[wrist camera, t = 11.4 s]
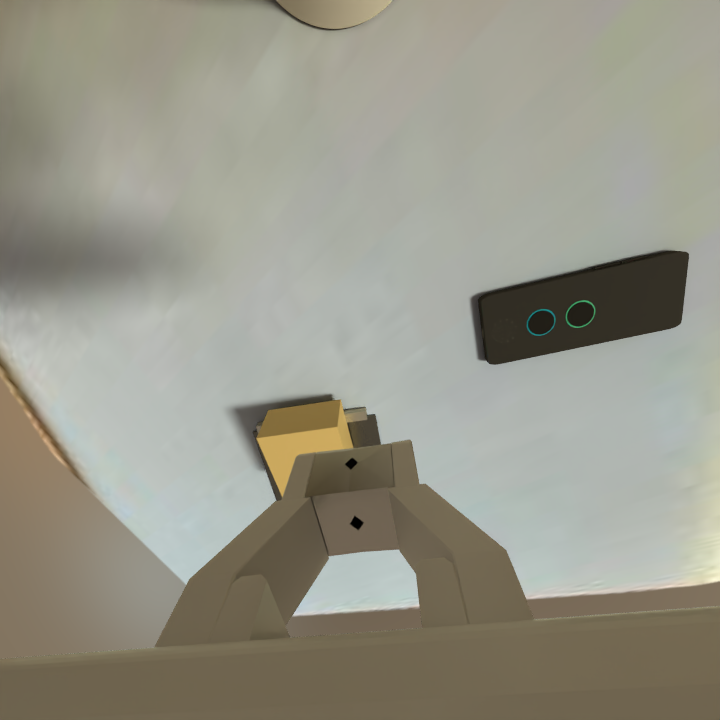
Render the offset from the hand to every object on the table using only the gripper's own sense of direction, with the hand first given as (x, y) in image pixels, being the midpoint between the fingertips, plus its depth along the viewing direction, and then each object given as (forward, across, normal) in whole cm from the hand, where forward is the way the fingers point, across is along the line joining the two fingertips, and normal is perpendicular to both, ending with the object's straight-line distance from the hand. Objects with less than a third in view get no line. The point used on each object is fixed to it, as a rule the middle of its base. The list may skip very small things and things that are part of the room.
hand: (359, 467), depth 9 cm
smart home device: (+30, -22, +7) cm, 37 cm away
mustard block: (+25, +10, +13) cm, 30 cm away
